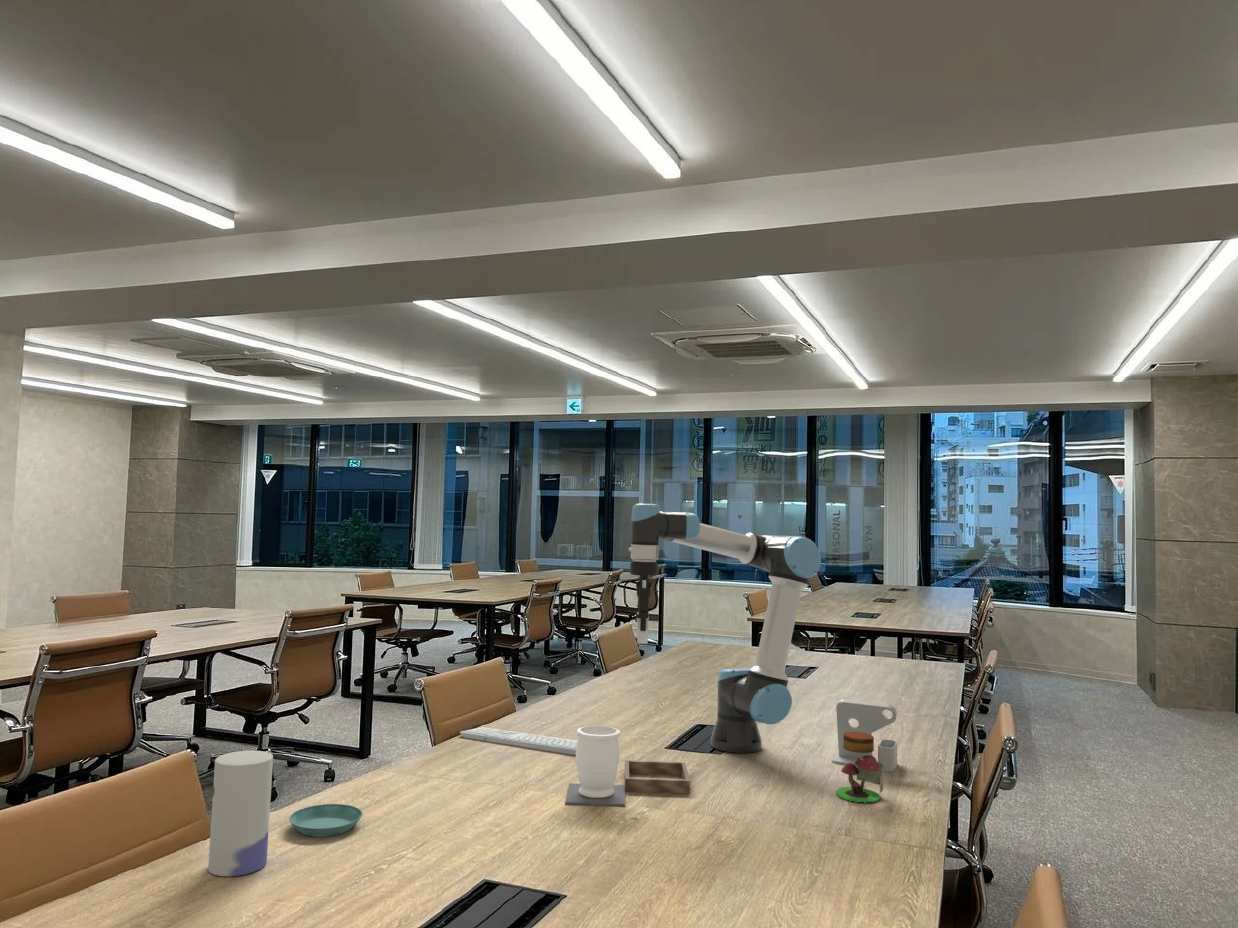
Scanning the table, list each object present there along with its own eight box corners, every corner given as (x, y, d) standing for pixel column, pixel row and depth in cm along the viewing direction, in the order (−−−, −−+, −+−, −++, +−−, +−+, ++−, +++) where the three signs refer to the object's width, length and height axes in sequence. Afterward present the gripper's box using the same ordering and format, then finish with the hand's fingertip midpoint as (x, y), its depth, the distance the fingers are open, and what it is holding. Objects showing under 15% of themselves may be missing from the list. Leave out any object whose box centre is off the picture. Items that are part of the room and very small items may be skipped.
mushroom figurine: (859, 808, 200) (860, 744, 201) (824, 791, 211) (825, 731, 212) (896, 801, 206) (896, 739, 207) (859, 786, 217) (860, 727, 218)
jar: (621, 788, 207) (623, 726, 208) (613, 802, 197) (615, 737, 198) (580, 784, 209) (582, 723, 210) (569, 797, 199) (572, 733, 200)
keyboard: (608, 749, 246) (608, 741, 246) (590, 759, 235) (590, 751, 235) (481, 729, 264) (481, 722, 264) (458, 738, 253) (458, 730, 253)
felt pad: (624, 787, 210) (624, 785, 210) (624, 806, 196) (625, 804, 196) (569, 785, 210) (569, 783, 210) (565, 804, 196) (565, 801, 196)
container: (220, 855, 161) (227, 749, 162) (273, 855, 162) (280, 749, 163) (199, 877, 151) (206, 764, 153) (256, 877, 152) (262, 764, 153)
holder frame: (684, 773, 223) (685, 762, 223) (689, 793, 207) (689, 780, 207) (624, 771, 223) (625, 760, 223) (624, 791, 207) (625, 778, 207)
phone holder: (899, 763, 239) (899, 699, 240) (895, 772, 230) (895, 706, 231) (837, 754, 247) (838, 692, 248) (830, 763, 237) (831, 698, 239)
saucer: (319, 846, 167) (320, 833, 168) (273, 830, 175) (273, 817, 175) (376, 825, 180) (377, 812, 180) (330, 810, 188) (331, 798, 188)
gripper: (630, 557, 240) (627, 632, 239) (630, 562, 215) (628, 646, 214) (656, 558, 240) (654, 633, 239) (660, 563, 215) (657, 647, 214)
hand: (641, 639), depth 226 cm, fingers open, 13 cm apart
